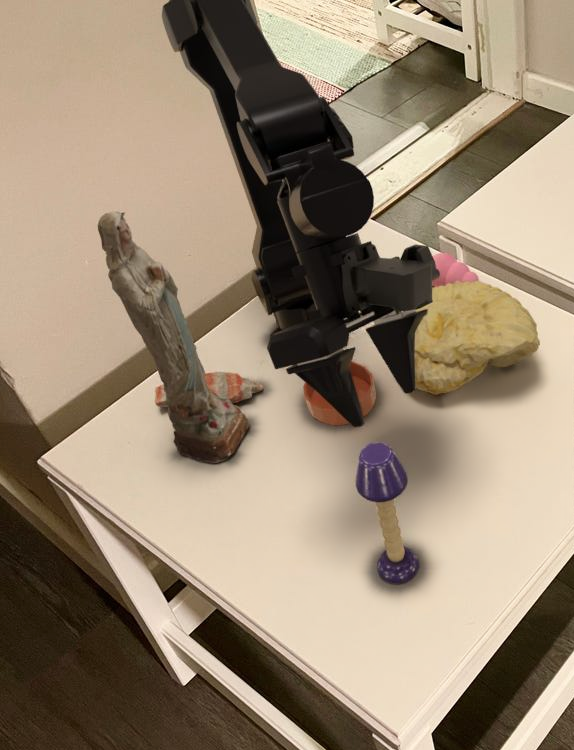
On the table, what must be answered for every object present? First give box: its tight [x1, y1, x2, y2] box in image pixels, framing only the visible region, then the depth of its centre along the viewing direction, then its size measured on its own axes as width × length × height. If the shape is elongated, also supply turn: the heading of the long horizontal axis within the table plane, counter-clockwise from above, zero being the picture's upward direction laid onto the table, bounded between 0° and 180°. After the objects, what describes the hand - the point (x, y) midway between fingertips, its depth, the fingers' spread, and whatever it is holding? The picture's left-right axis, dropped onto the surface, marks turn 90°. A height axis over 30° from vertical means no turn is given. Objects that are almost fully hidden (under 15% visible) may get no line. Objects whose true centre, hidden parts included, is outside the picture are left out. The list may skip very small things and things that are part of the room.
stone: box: [154, 371, 264, 407], centre depth 106 cm, size 12×2×5 cm
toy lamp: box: [355, 441, 420, 585], centre depth 84 cm, size 5×5×17 cm
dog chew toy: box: [432, 252, 480, 287], centre depth 116 cm, size 4×4×7 cm
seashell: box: [415, 279, 541, 396], centre depth 104 cm, size 17×11×15 cm
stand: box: [303, 360, 377, 426], centre depth 105 cm, size 8×8×2 cm
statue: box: [97, 211, 250, 464], centre depth 91 cm, size 8×7×30 cm
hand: (385, 408), depth 84 cm, fingers open, 9 cm apart
